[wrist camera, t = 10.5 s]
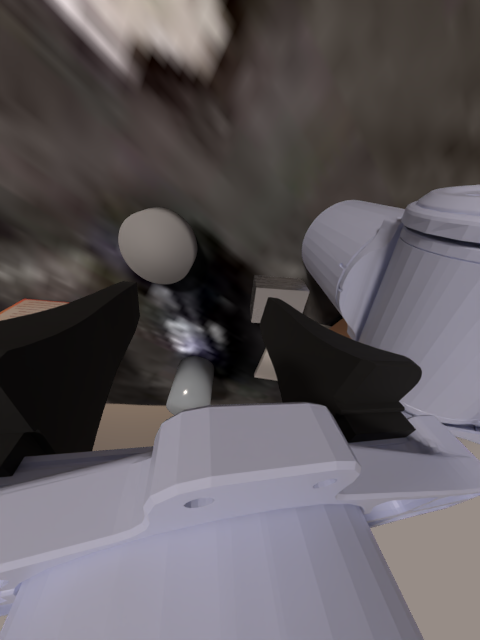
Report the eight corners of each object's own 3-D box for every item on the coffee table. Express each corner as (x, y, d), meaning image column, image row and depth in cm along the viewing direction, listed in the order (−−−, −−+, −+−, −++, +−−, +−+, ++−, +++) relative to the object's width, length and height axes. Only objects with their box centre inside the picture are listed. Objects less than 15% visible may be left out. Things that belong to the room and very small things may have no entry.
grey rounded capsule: (217, 359, 28) (212, 398, 23) (211, 382, 31) (206, 420, 26) (179, 353, 27) (167, 392, 22) (177, 377, 30) (165, 415, 25)
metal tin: (301, 277, 21) (309, 291, 18) (292, 309, 23) (298, 325, 21) (254, 274, 20) (256, 287, 18) (249, 306, 23) (251, 322, 20)
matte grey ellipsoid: (201, 217, 17) (196, 222, 15) (194, 279, 21) (189, 290, 19) (129, 198, 16) (113, 201, 14) (134, 266, 20) (122, 276, 18)
